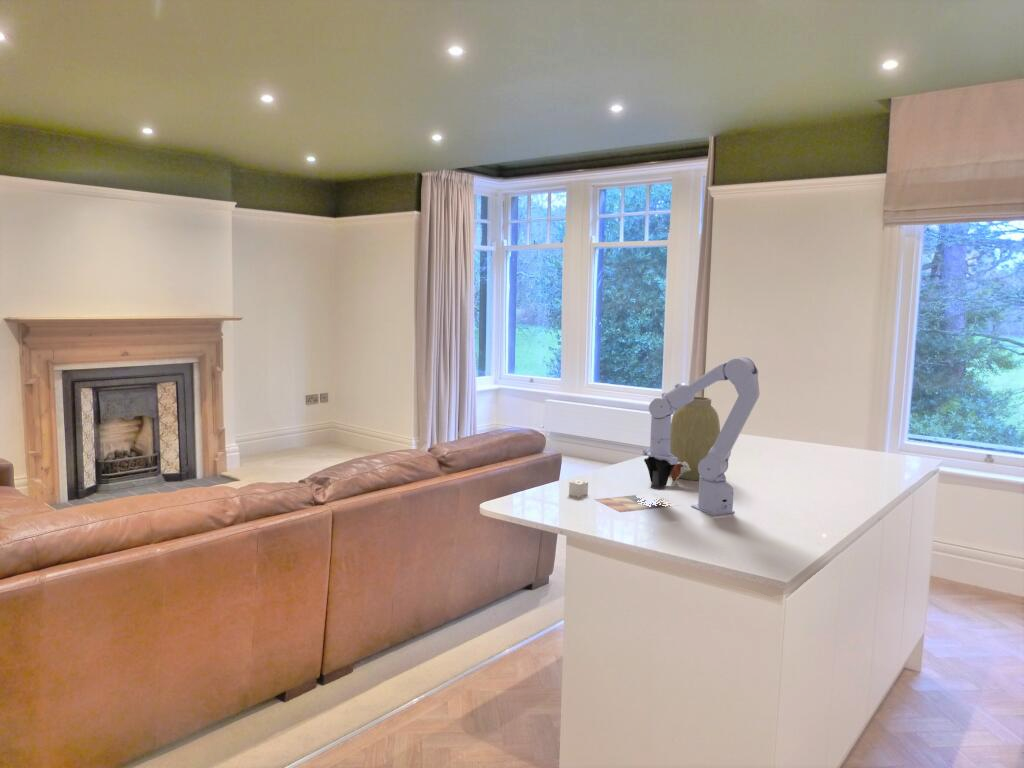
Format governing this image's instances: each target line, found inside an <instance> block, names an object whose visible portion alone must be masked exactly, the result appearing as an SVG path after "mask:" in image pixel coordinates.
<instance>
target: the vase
mask: <svg viewBox="0 0 1024 768" xmlns="http://www.w3.org/2000/svg"><path fill="white" fill-rule="evenodd" d="M720 432H721V424H720V418H719V414H718V412H717V410H716V409H715V407H714V406H713V405H712V398H710V397H704V396H695V398H694V400H693V401H691V402H690V403H688V404H686V405H684V406H683V407H681V408H679V409H678V410H676V411H674V412H673V413H672V416H671V434H670V454H672V455H673V456H675V457H677V458H678V462H681V463H683V462H686V463H687V464H688V465H689V468H690V469H691V471H689V472H688V471H687V472H685V473H683V474H682V475H681V476H680V477H679V478H678V479H682V480H688V479H689V480H688V481H699V478H700V474H699V472H698V464H699V462H700V461H701V460H702V459H704V458H705V457H706V456H707V454H708V452H709V451H710V449H711V448H712V447H713V445H714V444H715V442H716V440H717V438H718V436H719V434H720Z"/></svg>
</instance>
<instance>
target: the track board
mask: <svg viewBox="0 0 1024 768" xmlns="http://www.w3.org/2000/svg"><path fill="white" fill-rule="evenodd" d="M636 495H637V494H636ZM636 495H635V494H633V495H626V496H625V495H624V496H615V497H614V496H613V497H606V498H595V499H594V501H597V502H599V503H601V504H603V505H605V506H607V507H609V508H611V509H613V510H614V511H617V512H619V513H624V512H635V511H644V510H654V509H661V508H662V509H663V508H670V505H668V506H669V507H668V506H667V507H665V506H662V505H666V504H663V503H664V502H661V501H663V500H664V498H663V497H660V498H661V499H659V500H658V501H657V502H659V501H660V500H661V501H660V503H661V505H659V504H660V503H658V504H656V505H657V506H655V505H652V504H653V503H652V504H651V507H649V506H646V505H643V504H644V503H642V505H641V504H638V503H641V502H637V501H638V500H639V501H640V500H641V499H642V498H641V499H640V498H637V497H636ZM658 497H659V496H658ZM658 497H657V498H658ZM643 498H644V497H643ZM662 499H663V500H662ZM656 500H657V499H656ZM645 501H646V500H644V501H642V502H645ZM654 501H655V500H654ZM667 501H668V502H669V501H670V500H667ZM657 502H656V503H657ZM665 502H666V501H665ZM670 502H671V503H673V502H672V501H670ZM671 503H668V504H671ZM645 504H646V503H645ZM649 505H650V504H649Z"/></svg>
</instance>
